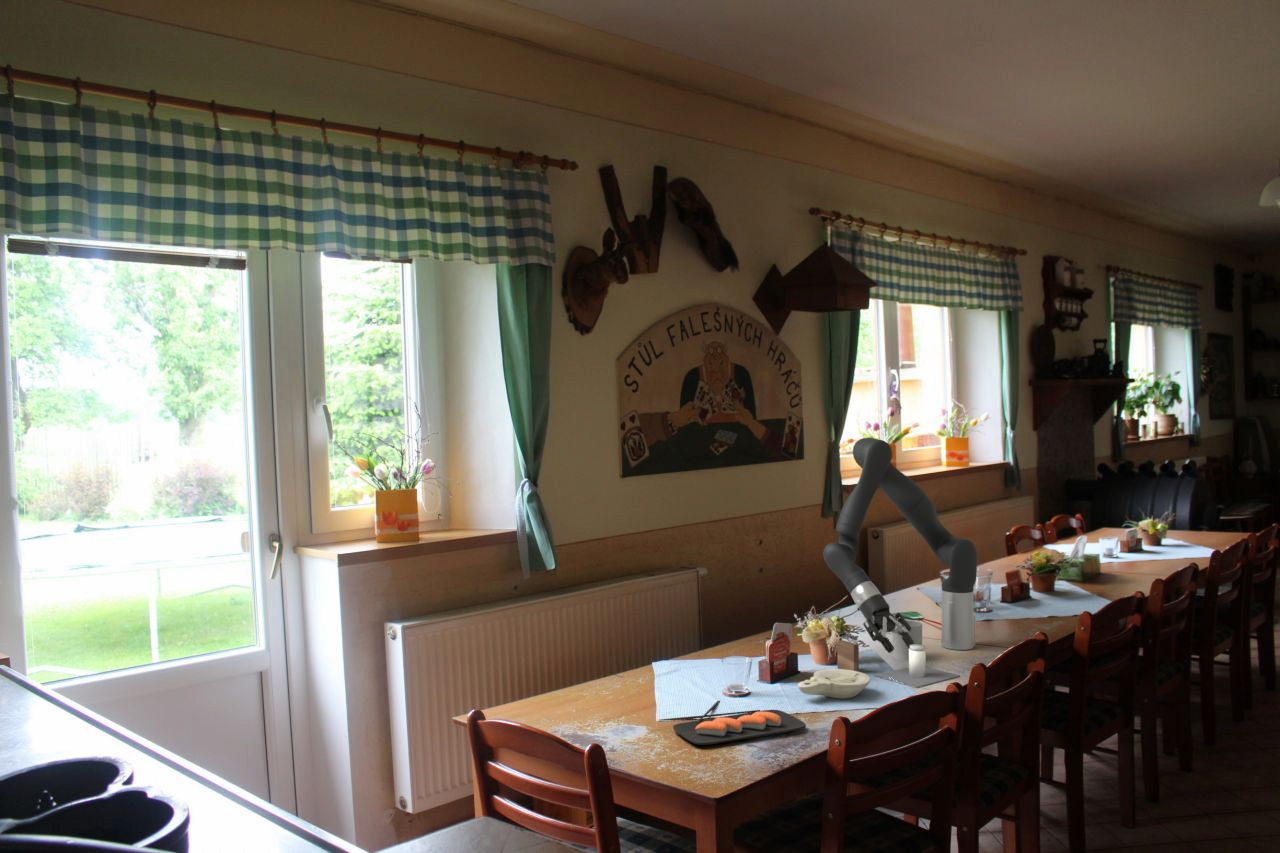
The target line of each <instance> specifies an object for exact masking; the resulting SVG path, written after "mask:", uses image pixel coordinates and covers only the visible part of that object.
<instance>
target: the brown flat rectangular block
mask: <svg viewBox="0 0 1280 853" xmlns="http://www.w3.org/2000/svg"><path fill="white" fill-rule="evenodd" d="M836 643H837V646H836V647H837V669H845V670H853V671H857V672H860V664H859V663H860V662H859V660H860V656H859V655H860V653H859V651H860V648H859V647H860V645H859V644H858V643H854V642H851V641H847V640H837V642H836Z"/></svg>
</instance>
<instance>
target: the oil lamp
mask: <svg viewBox="0 0 1280 853" xmlns="http://www.w3.org/2000/svg"><path fill="white" fill-rule="evenodd" d="M870 682H871V678H870V676H869V675H867V674H866V673H863V672H860V671H859V672H857V671H853V670H845V669H838V668H828V669H827V668H826V669H819V670H816V671H815V672H813V676H811V677H810V679H805V680H803V681H799V683H797V688H798V691H800V692H801V693H803V694H805V695H809V696H824V697H828V698H834V699H846V698H847V699H852V698H854V697H856V696H857V695H858V694H860V693H861V692H862V691H863V690H864V689H866V687H868V686H869V684H870Z"/></svg>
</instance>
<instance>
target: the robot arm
mask: <svg viewBox="0 0 1280 853" xmlns="http://www.w3.org/2000/svg"><path fill="white" fill-rule="evenodd" d="M852 455H853V458H854V461H855V463H856V464H857V465H858V466H859V467H860V468H861V474H860V477H859V479H858V482H857V484H856V485H855V487H854V488H853V489H852V492H851V493H850V495H849V496H848V497H847V499H846V500H845V501H844V504H843V506H842V509H841V511H840V513H839V514H840V515H839V517H838V520H837V523H836V526H835V530H836V532H837V533H838V535H839V536H838V541H837V542H829V543H828V544H827V545H825V547H824V548H823V552H822V555H823V560H824V562H825V564H826V565H827V566H828V568H829V569H830V570H831V571H832V572H833V573H834V574H835V575H836V577H837V578H838V579H839V580H841V582H842V583H843V585H844V586H845V588H846V590H847V591H848V593H849V594H850V595H851V598H852V600H853V601H854V604H855V605H856V606H857V608H858V609H859V611H860V612H861V614H862V615H863V618H864V619H865V621H864V622H863V627H864V629H865V630H866V632H867V634H868V635H869V637H870V638H871V640H872V641H874V642H876V641H877V642H879V643H880V644H881V645H882V647H883V648H884V649H885V651H886V652H887V653H888V654H891V653H893V650H894V647H893V643H892V642H891V641H890V639H889V637H887V633H892V634H893V633H894V634H898V635H899V636H901V637H902V639H903V641H904V642H905V644H906V645H907V647H908V648H910V645H912V644H914V641H913V640H912V638H911V637H910V635H909V634H908V632H909V631H910V630H911V627H910V626H909V625H908V623H907V622H906V619H905V617H904V616H903V615H902V613H901V612H897V613H895V614H892V613H891V611H890V608H891V607H890V605H889V603H888V602H887V600H886V599H885V598H884V595H882V593H881V592H880V590H879V588H877V586H876V585H875V584H874V583H873V582H872V581H871V579H870V577H869V576H868V574H867V573H866V572H865V570H864V569H863V568H862V567H860V566H858V565H857V564H856V563H855V561H856V558H857V555H858V550H859V549H858V548H859V537H860V533H861V531H862V527H863V525H864V521H865V518H866V516H867V513H868V510H869V507H870V505H871V502H872V500H873V498H874V496H875V493H876V492H877V490H878V487H880V488H881V489H882V491H883V492H884V493H885V495H886V497H888V498H889V500H890V501H891V502H892V503H893V504H894V505H895V506H894V507H896V508H897V510H898V511H899V513H900V514H901V515H902V516H903V517H904V518H905V519H906V520H907V521H908V522H909V523H910V525H911V526H912V527H913V528H914V529H915V531H917V533H918V534H919V535H921V537H922V538H923V539H924V540H925V542H926V543H927V544H928V546H929V548H930V549H931V551H932V552H933V554H934V555H935V557H936V558H937V559H938V561H939V562H940V563H941V564H943V565H945V566H946V567H949V575H948V577H947V578H945V579H943V580H942V582H941V647H942V648H946V649H949V650H955V651H956V650H957V651H966V650H967V651H968V650H972V649H974V647H975V646H976V615H975V614H974V613H975V612H974V609H975V608H974V607H975V606H974V588H975V587H974V586H975V584H976V581H977V570H978V550H977V547H976V546H975V543H974V542H972V541H971V540H969V539H966V538H962V537H958V536H957V537H956V536H954V535H953V534H952V533H951V532H950V531H949V530H947V528H946V527H945V526H944V524H942V523H941V521H940V519H939V516H938V513H937V509H936V507H935V504H934V503H933V500H931V498H930V496H928V495H927V494H926V492H925V491H924V490H923V489H922V488H921V487H920V486H919V484H917V483H916V482H915V481H913V479H911V478H910V477H909V476H907V475H906V474H904V473H902V472H901V470H899V469H898V468H897V467H896V466H895V465H894V464H893V463H892V462H891V461H892V458H893V448H892V447H891V445H890V444H889V443H888V442H887V441H885V440H883V439H877V438H873V437H864V438H860V439H859V440H857V441H856V442H855V443H854V445H853V448H852ZM896 625H897V627H896V628H895V626H896ZM903 625H904V626H905V627H906V628H904V627H903ZM899 630H901V631H902V632H900V631H899Z"/></svg>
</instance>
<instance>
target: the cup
mask: <svg viewBox="0 0 1280 853" xmlns="http://www.w3.org/2000/svg"><path fill="white" fill-rule="evenodd" d="M905 620H906V619H905ZM906 622H907V623H908V625H909V626H910V627H911V630H910V631H909V632H908V634H909V635H910V637H911V638H912V640H913V641H914V644H920V645H923V623H922V622H920V621H916V620H906ZM896 627H897V625H896V626H895V628H896ZM903 627H904V628H906V627H905V626H904V625H903ZM899 631H900V632H902V631H901V630H899ZM892 645H893V647H894V650H893V651H892V658H893V657H894V658H893V659H895V660H897V659H899V660H898V661H901V660H906V661H905V662H909V648H908V647H907V645H906V644H905V642H904V641H903V639H902V637H901V636H899V635H898V634H894V633H892Z"/></svg>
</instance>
